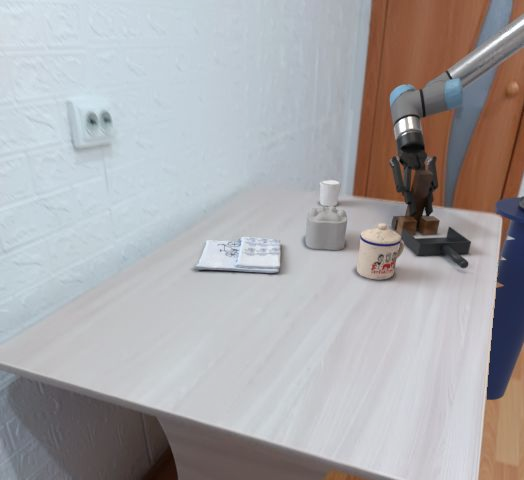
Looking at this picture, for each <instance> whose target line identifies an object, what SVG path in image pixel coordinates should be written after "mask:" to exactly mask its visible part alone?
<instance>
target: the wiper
mask: <svg viewBox="0 0 524 480" xmlns="http://www.w3.org/2000/svg"><path fill="white" fill-rule="evenodd" d="M414 171H415V170H414ZM432 177H433V173H431V172H430V171H428V170H426V171H415V172H414V175H413V180H412V183H411V188H410V191H411V190H413V191H414V197H415V203H416V210H417V212H416V213H415V215H414V216H413V218H414V219H415V220H416V221H417V225H416V230H418V225H419V221H420V216H426V214H424V212H425V204H426V200H427V196H428V193H429V189H430V185H431V181H432ZM399 217H410V212H409V206H408V204H406V208H405V212H404V215H393V216H392V219H391V223H390V224H391V225H390V226H391V228H392V230H394V231H396V229H397V223H398V218H399Z"/></svg>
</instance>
